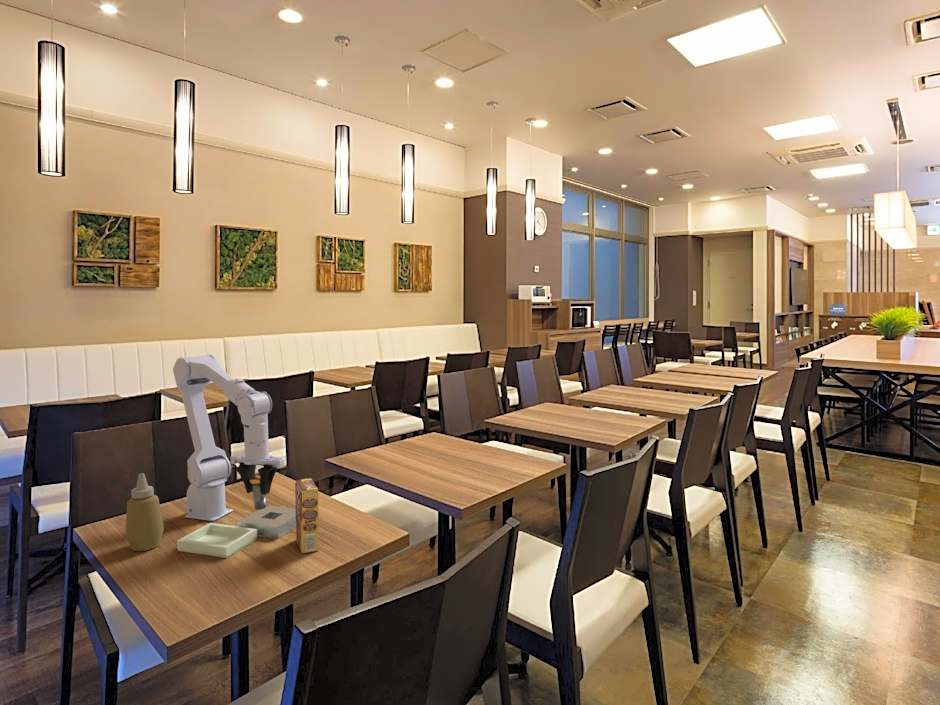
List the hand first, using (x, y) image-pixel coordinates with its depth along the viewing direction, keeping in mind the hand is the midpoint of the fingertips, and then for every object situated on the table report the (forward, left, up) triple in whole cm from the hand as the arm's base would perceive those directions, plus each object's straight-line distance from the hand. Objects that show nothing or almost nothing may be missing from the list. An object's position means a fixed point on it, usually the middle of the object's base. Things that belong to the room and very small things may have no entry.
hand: (258, 492), depth 145 cm
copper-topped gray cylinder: (0, 0, -4) cm, 4 cm away
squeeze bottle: (-20, -16, -10) cm, 28 cm away
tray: (-4, -10, -10) cm, 15 cm away
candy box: (+17, -4, -10) cm, 20 cm away
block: (+2, +3, -10) cm, 11 cm away
